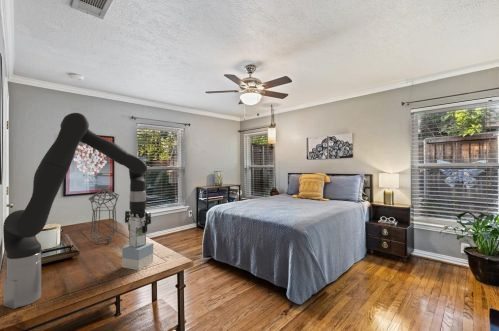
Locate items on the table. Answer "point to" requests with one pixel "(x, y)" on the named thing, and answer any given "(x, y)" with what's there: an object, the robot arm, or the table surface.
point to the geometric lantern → (103, 210)
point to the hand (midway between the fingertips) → (137, 232)
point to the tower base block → (137, 262)
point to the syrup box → (136, 232)
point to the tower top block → (137, 251)
